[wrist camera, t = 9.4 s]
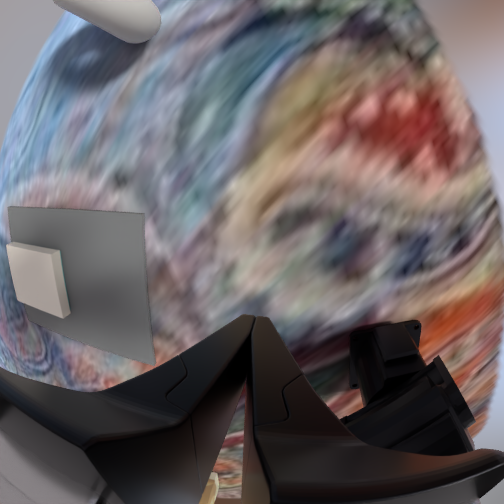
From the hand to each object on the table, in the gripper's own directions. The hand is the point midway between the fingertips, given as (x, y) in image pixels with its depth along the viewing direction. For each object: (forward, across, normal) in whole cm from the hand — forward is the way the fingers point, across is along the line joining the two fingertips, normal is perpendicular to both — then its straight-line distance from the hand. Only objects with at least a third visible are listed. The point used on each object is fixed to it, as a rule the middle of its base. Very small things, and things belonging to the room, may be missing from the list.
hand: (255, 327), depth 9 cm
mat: (+12, +20, +7) cm, 25 cm away
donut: (+12, +13, -17) cm, 25 cm away
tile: (+11, +25, +7) cm, 28 cm away
